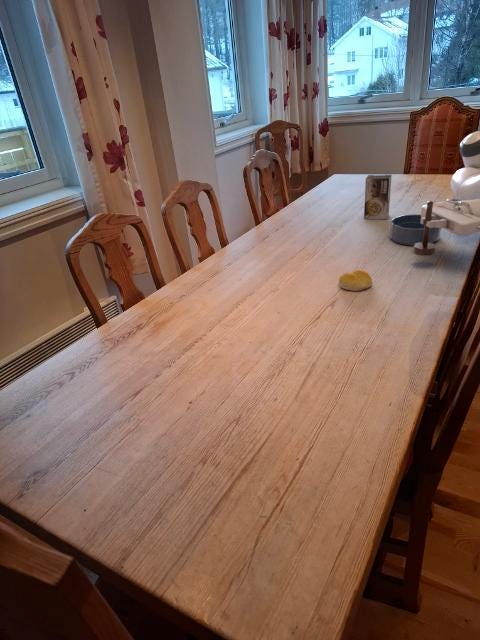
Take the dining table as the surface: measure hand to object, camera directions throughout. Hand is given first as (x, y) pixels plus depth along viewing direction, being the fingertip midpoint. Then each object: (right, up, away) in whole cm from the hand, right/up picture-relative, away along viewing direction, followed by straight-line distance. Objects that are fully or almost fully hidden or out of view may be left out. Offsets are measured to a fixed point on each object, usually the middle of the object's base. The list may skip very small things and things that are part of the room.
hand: (424, 223), depth 124 cm
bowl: (+7, +1, +26) cm, 27 cm away
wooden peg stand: (+2, -8, +5) cm, 9 cm away
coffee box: (+2, +14, +50) cm, 52 cm away
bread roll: (-20, -18, -1) cm, 27 cm away
